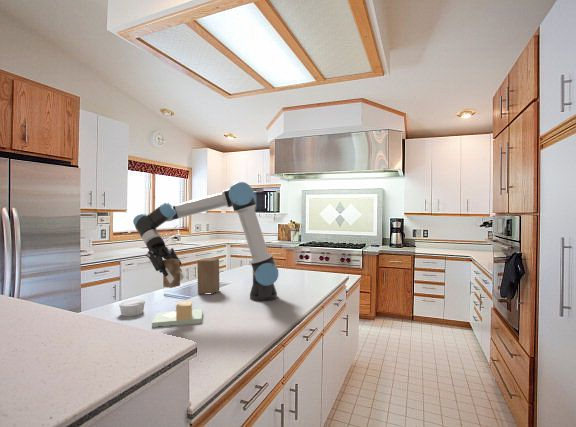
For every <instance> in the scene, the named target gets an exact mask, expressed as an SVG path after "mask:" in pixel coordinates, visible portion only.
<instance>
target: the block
mask: <svg viewBox="0 0 576 427" xmlns="http://www.w3.org/2000/svg"><path fill="white" fill-rule="evenodd" d="M196 265H197V294H199V295H206V294H205V293H211V294H212V295H214V294H216V293H217V291H218V292H220V259H219V258H218V257H217V258H216V257H212V258H210V257H209V258H208V257H204V258H202V259H199V260H197V264H196ZM215 292H216V293H215ZM213 293H214V294H213Z"/></svg>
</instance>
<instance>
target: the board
mask: <svg viewBox="0 0 576 427" xmlns="http://www.w3.org/2000/svg"><path fill="white" fill-rule="evenodd" d="M203 312H204V309H203V308H202V309H201V308H200V309H199V308H198V309H192V317H191V319H188V320H176V310H175V311H173V310H172V311H162V312H161V311H160V312H157V313H156V315H155V317H154V319H153V320H152V322H151V327H152V328H159V327H158V326H163V327H170V326H169V325H173V326H172V327H174V325H175V326H183V325H196V324H198V325H199V324H202V322H203V321H202V320H203V315H204V314H203Z"/></svg>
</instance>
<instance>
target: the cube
mask: <svg viewBox="0 0 576 427" xmlns="http://www.w3.org/2000/svg"><path fill="white" fill-rule="evenodd" d="M175 309H176V310H175V311H176V320H188V319H191V317H192V310H193V301H183V302H181V301H180V302H177V303H176V306H175Z"/></svg>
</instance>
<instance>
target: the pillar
mask: <svg viewBox="0 0 576 427" xmlns="http://www.w3.org/2000/svg"><path fill="white" fill-rule="evenodd" d="M180 261H181V260H180V258H179V259H163V262H164V266H165V268H168V270H169V272H170V273H171V275H172V277H173V278H174V280H173V281H172V282H171V283H169V281H168V279H167V278H166V277H165V276H164V275H163V274H162V275H163V276H162V278H163V280H162V282H163V284H162V286H163V287H164V288H169V289H172V288H176V287H180V286H181V281H180V269H181V265H180Z"/></svg>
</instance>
